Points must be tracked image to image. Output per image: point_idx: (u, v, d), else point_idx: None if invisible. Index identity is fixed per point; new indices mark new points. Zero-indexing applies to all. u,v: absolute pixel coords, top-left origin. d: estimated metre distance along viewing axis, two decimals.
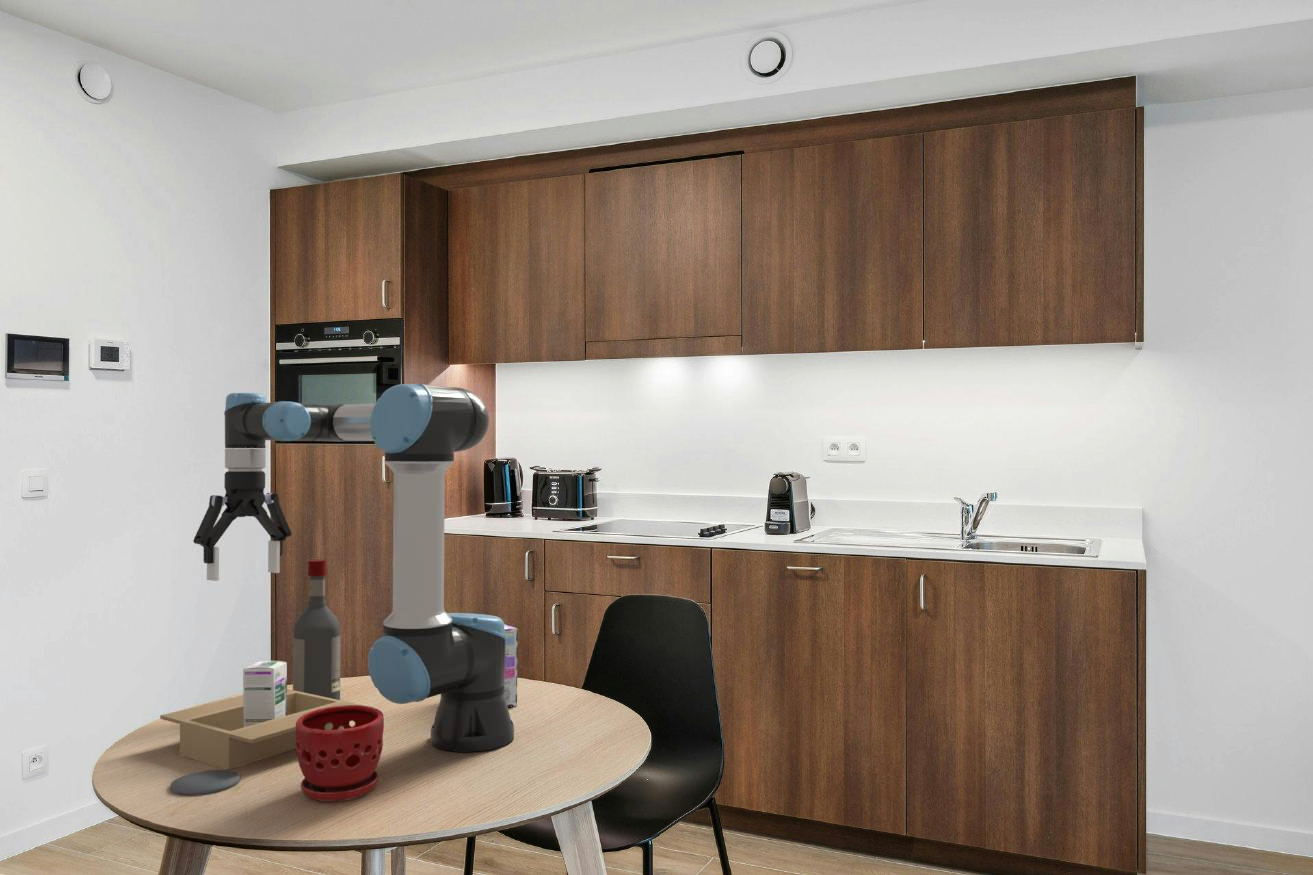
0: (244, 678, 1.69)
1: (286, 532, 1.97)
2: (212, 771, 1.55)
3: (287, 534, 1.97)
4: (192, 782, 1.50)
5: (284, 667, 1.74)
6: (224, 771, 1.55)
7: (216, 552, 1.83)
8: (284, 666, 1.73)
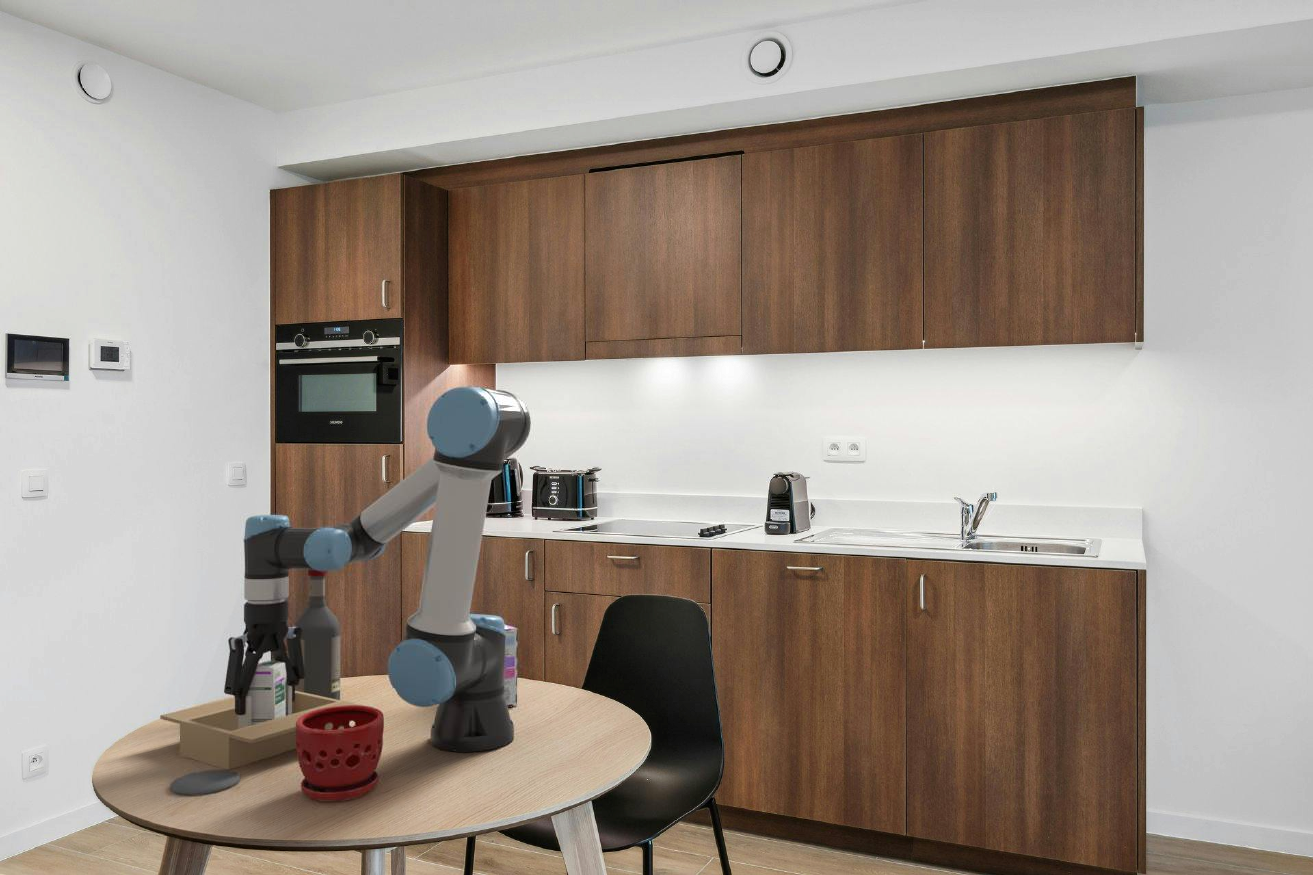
0: None
1: (299, 674, 1.77)
2: (212, 771, 1.55)
3: (300, 676, 1.77)
4: (192, 782, 1.50)
5: (284, 667, 1.74)
6: (224, 771, 1.55)
7: (249, 702, 1.67)
8: (283, 665, 1.73)
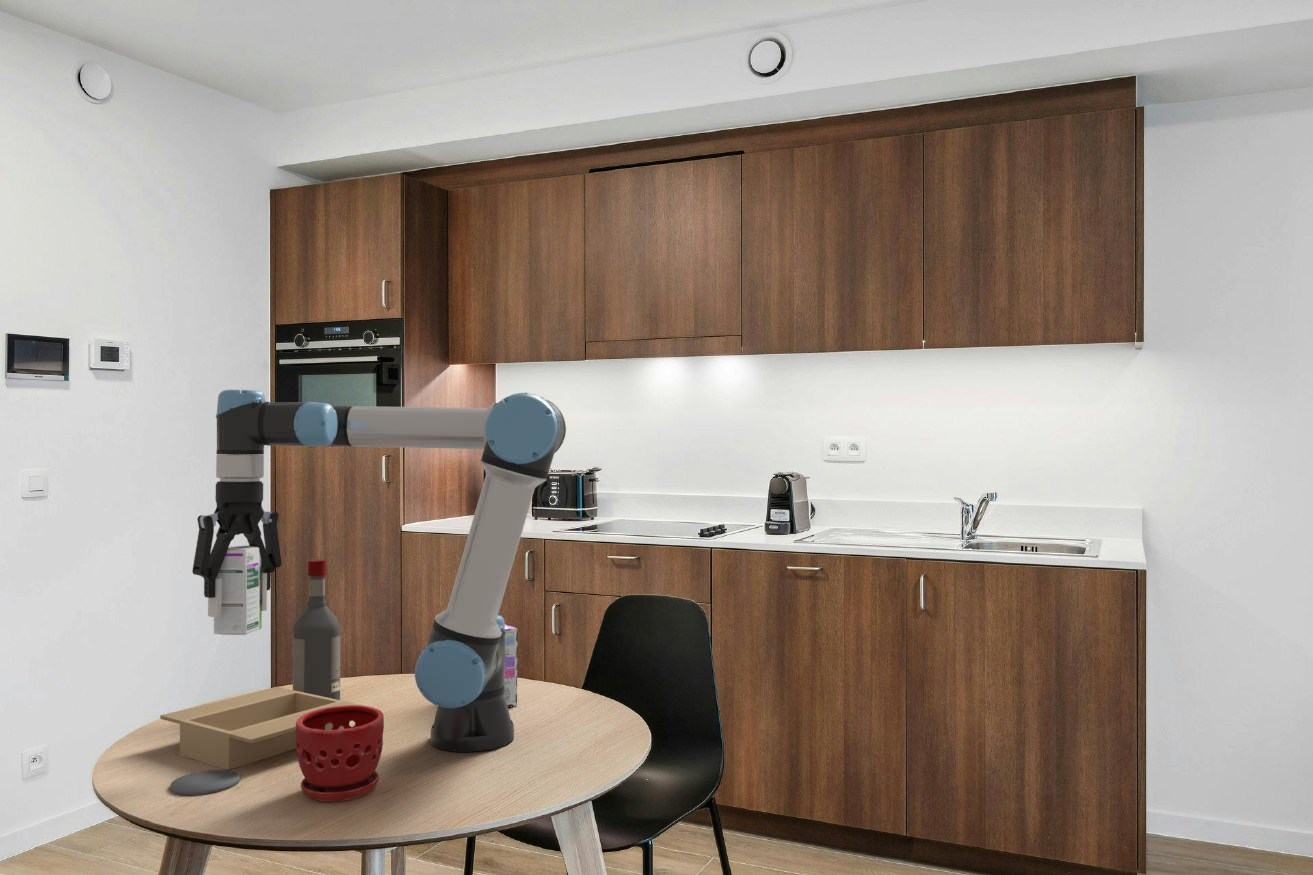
0: None
1: (276, 561, 1.67)
2: (212, 771, 1.55)
3: (276, 564, 1.67)
4: (192, 782, 1.50)
5: (259, 552, 1.64)
6: (224, 771, 1.55)
7: (218, 584, 1.58)
8: (258, 550, 1.64)
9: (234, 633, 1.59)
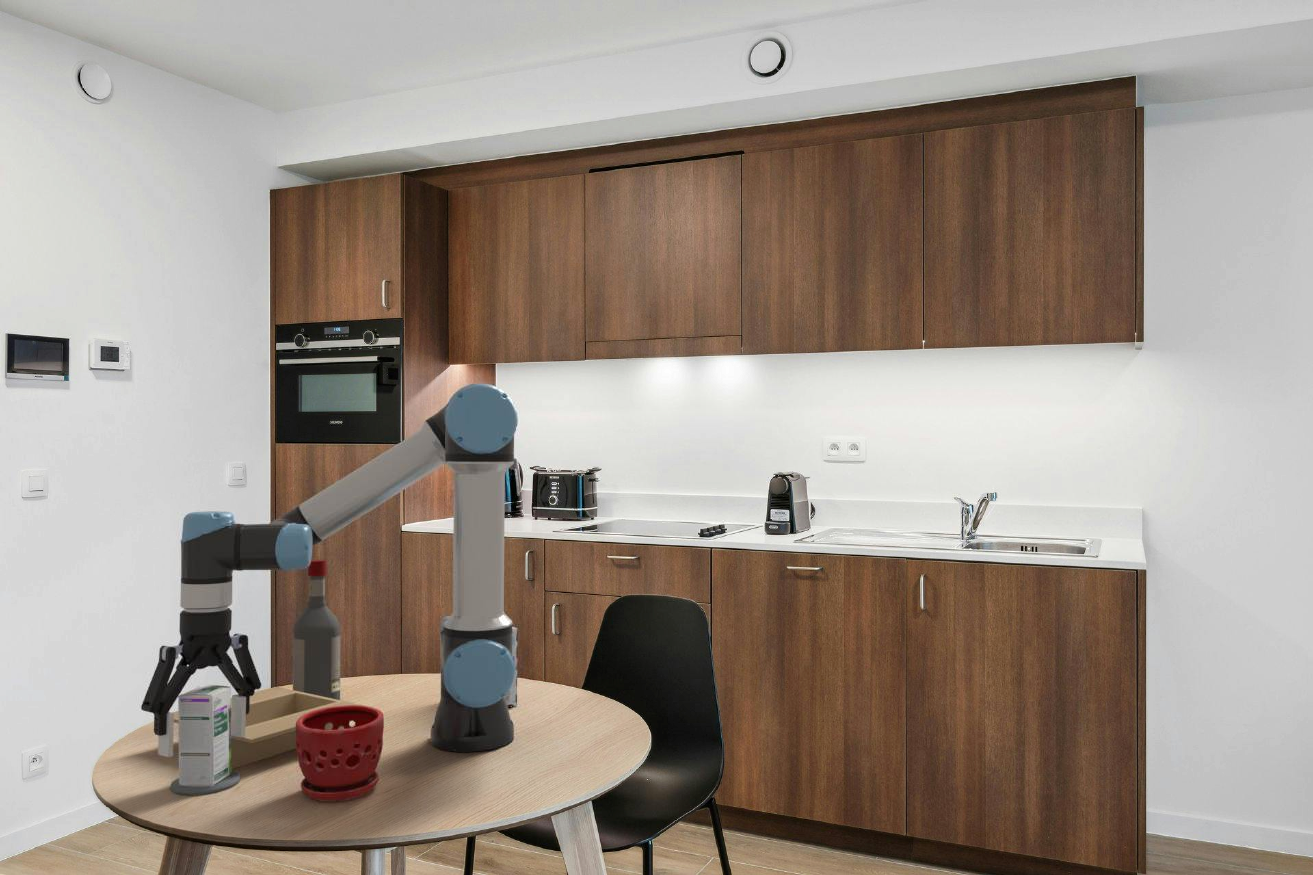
0: (180, 706, 1.49)
1: (255, 684, 1.57)
2: None
3: (256, 686, 1.58)
4: None
5: (228, 693, 1.53)
6: None
7: (170, 721, 1.45)
8: (226, 691, 1.53)
9: (200, 785, 1.48)
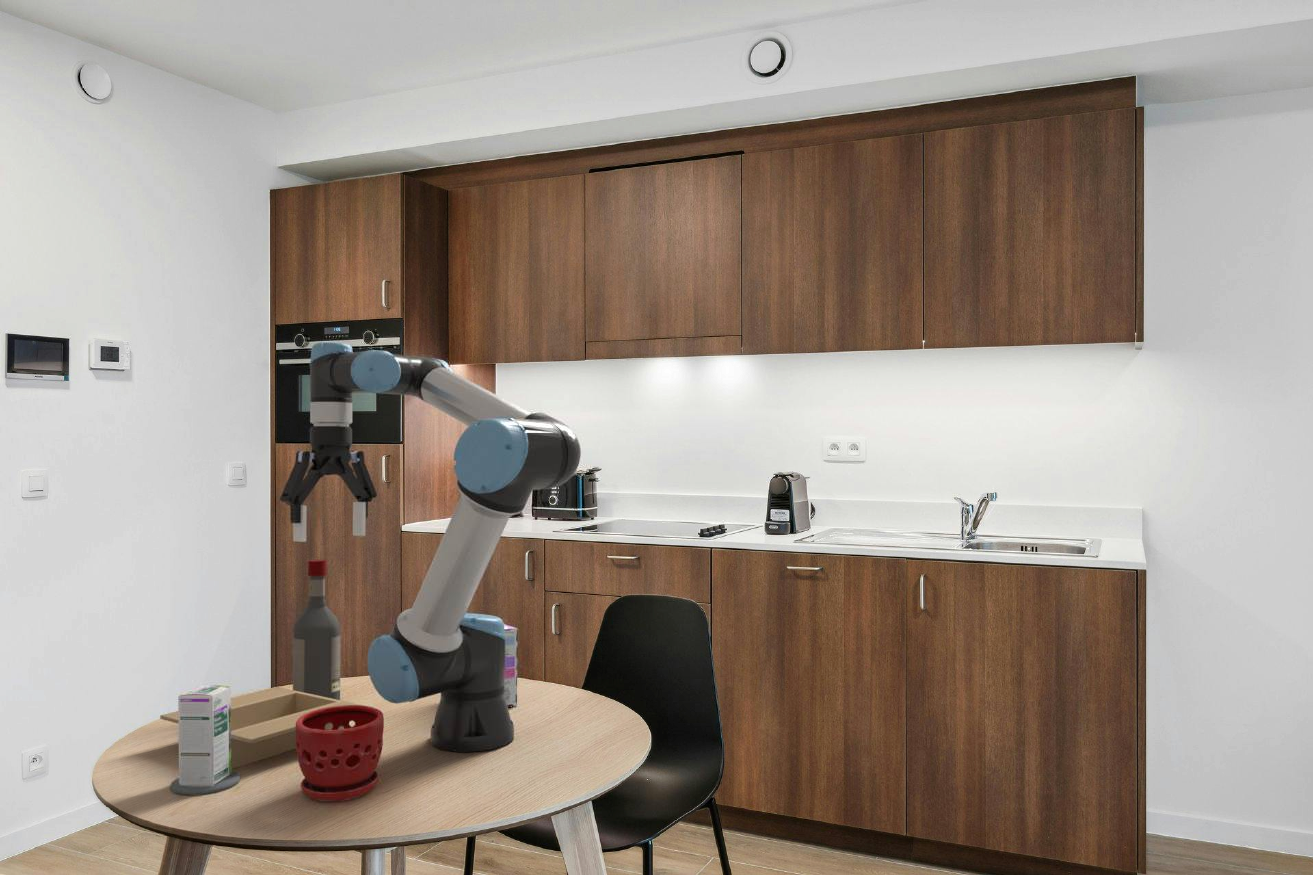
0: (180, 706, 1.49)
1: (371, 493, 1.85)
2: None
3: (372, 495, 1.85)
4: None
5: (228, 693, 1.53)
6: None
7: (304, 511, 1.71)
8: (226, 691, 1.53)
9: (200, 785, 1.48)
